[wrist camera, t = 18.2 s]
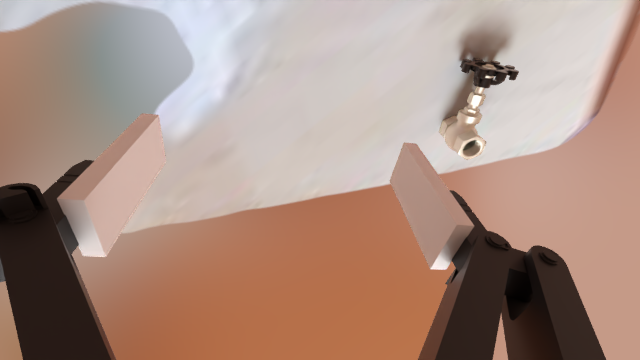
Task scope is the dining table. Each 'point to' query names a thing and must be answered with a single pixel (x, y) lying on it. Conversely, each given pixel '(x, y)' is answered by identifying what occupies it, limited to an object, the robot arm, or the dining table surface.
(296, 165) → the dining table surface
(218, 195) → the dining table surface
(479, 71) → the valve
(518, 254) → the robot arm
